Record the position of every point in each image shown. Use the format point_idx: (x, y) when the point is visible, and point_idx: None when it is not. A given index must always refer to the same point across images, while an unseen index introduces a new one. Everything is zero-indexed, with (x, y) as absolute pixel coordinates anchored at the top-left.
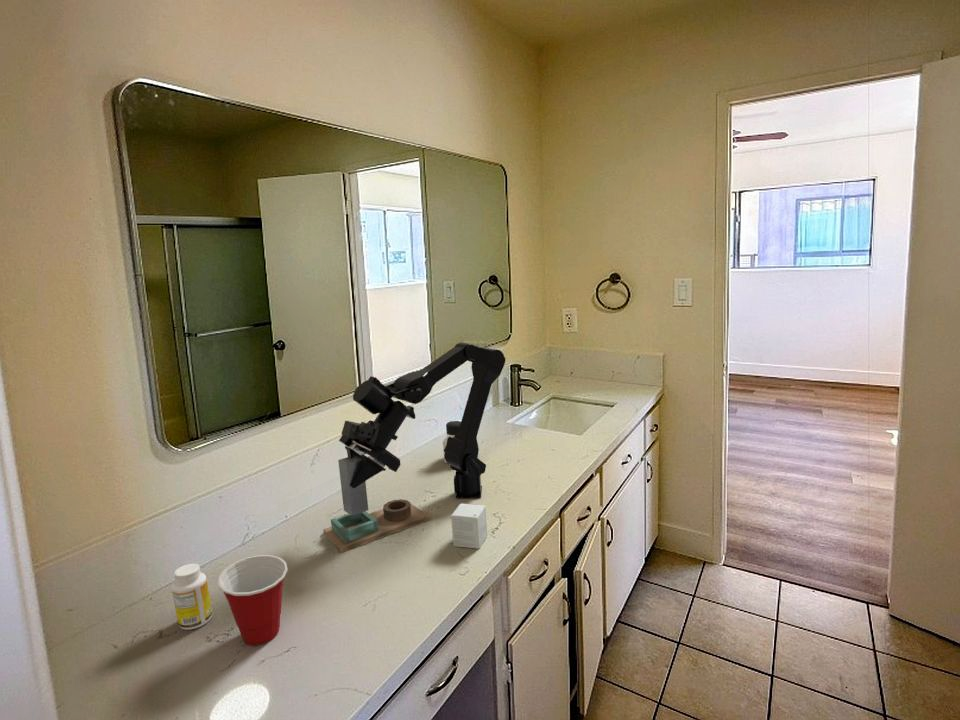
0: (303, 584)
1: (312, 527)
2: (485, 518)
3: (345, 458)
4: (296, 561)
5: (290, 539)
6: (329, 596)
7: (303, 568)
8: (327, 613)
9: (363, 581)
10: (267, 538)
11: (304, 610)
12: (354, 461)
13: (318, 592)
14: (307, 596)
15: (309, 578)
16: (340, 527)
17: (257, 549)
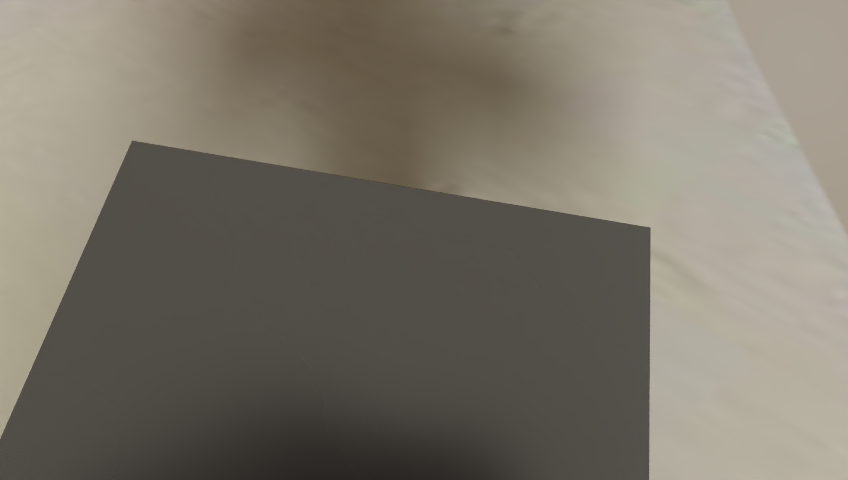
0: (277, 80)
1: (726, 386)
2: None
3: (587, 433)
4: (459, 152)
5: (679, 242)
6: (114, 88)
7: (381, 139)
8: (44, 33)
9: (47, 219)
10: (773, 186)
11: (139, 5)
12: (68, 432)
13: (176, 81)
14: (196, 49)
15: (291, 113)
16: None
17: (698, 115)
